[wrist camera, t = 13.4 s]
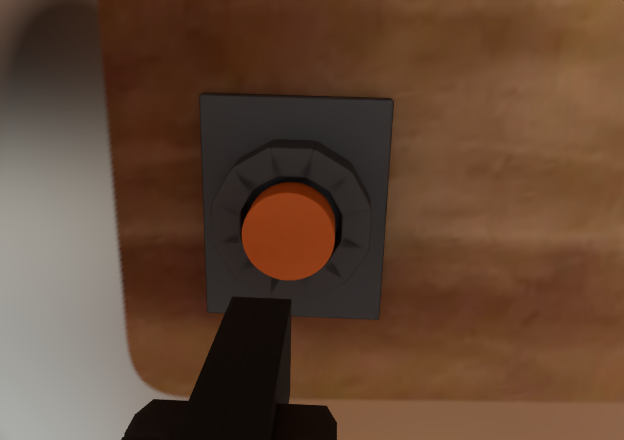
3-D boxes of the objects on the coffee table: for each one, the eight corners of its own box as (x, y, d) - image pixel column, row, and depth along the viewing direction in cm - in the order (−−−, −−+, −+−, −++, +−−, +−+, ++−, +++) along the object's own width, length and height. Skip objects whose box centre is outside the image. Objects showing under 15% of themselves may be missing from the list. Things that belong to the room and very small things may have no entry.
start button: (247, 179, 23) (240, 191, 21) (336, 182, 23) (336, 194, 21) (248, 262, 24) (241, 279, 22) (333, 265, 24) (333, 283, 22)
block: (202, 92, 24) (187, 98, 22) (392, 97, 24) (398, 104, 21) (209, 306, 27) (197, 332, 25) (378, 313, 27) (381, 340, 24)
